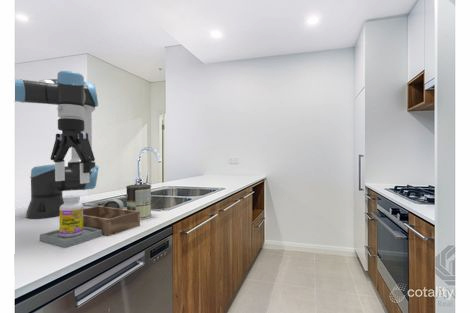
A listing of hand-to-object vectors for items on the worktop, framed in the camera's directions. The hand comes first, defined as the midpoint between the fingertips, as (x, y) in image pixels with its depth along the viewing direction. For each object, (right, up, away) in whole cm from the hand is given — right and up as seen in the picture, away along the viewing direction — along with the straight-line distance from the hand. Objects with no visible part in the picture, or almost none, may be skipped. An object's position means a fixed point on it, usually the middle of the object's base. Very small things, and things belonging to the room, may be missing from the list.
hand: (72, 182), depth 85 cm
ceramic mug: (-2, -19, +29) cm, 35 cm away
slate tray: (0, -19, -1) cm, 19 cm away
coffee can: (+12, -19, +27) cm, 35 cm away
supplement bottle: (0, -18, -1) cm, 18 cm away
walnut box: (+4, -19, +13) cm, 23 cm away
